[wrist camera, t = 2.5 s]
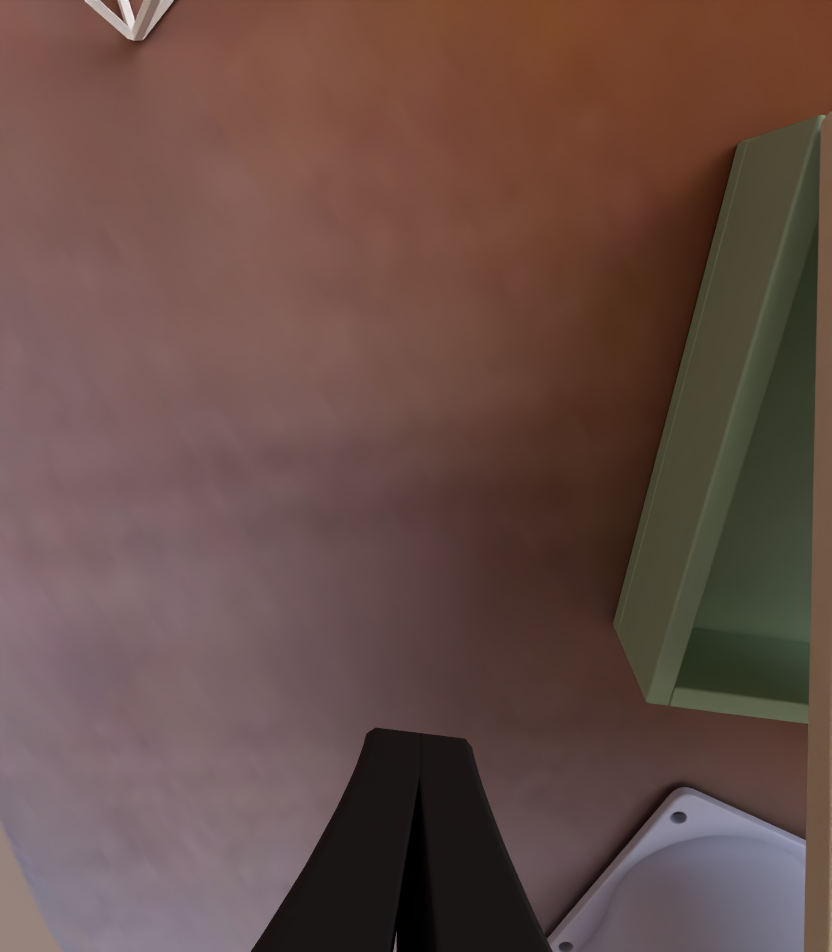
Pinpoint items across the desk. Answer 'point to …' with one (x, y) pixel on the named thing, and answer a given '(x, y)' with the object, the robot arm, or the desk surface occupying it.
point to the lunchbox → (738, 459)
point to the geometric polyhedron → (138, 29)
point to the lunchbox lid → (821, 595)
